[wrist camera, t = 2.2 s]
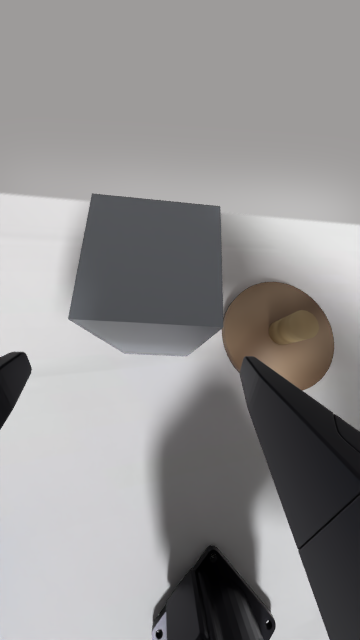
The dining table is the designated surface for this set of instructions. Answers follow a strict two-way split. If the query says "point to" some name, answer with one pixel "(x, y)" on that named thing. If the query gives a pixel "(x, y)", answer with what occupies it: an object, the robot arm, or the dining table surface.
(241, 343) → the stub base
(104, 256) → the block
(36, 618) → the dining table surface
